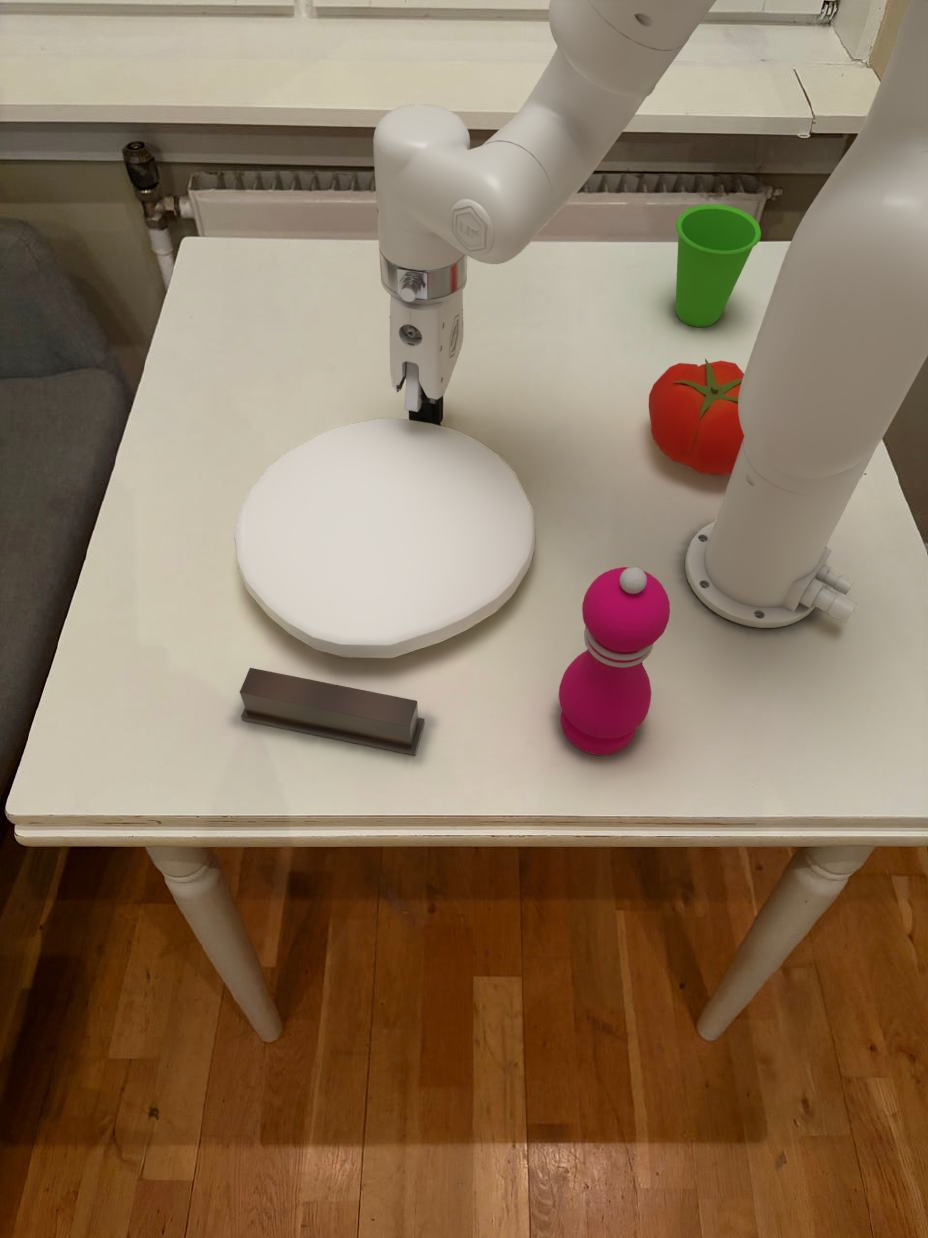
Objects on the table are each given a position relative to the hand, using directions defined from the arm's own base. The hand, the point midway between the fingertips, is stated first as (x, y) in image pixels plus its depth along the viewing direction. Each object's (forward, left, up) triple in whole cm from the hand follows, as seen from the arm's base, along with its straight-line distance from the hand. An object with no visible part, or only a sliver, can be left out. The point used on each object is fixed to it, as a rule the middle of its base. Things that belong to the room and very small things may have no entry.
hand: (426, 422), depth 96 cm
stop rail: (-15, +31, -2) cm, 35 cm away
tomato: (-23, -16, -2) cm, 28 cm away
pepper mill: (-32, +18, -2) cm, 37 cm away
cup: (-12, -35, -2) cm, 37 cm away
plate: (-7, +14, -2) cm, 16 cm away
